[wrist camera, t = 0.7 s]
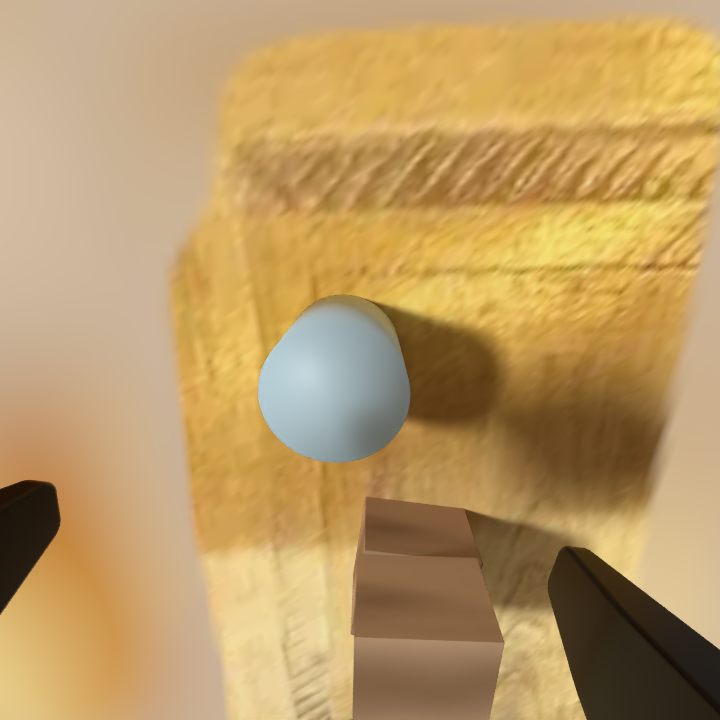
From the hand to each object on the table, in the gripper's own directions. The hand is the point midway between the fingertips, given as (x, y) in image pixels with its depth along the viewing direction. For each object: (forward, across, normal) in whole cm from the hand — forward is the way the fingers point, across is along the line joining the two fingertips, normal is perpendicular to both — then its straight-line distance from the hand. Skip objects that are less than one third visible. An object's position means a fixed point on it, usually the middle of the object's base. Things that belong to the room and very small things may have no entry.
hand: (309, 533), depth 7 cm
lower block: (+11, -4, +10) cm, 15 cm away
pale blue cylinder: (+11, 0, 0) cm, 11 cm away
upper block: (+7, -4, +10) cm, 13 cm away
